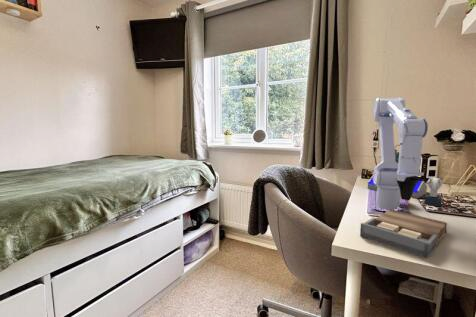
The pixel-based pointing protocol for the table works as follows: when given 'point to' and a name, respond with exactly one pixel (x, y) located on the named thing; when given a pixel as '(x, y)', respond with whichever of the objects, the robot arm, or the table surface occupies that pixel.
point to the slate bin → (398, 239)
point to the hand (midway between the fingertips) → (405, 199)
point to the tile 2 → (410, 233)
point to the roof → (418, 191)
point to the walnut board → (414, 223)
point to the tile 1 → (388, 227)
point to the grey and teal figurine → (433, 192)
